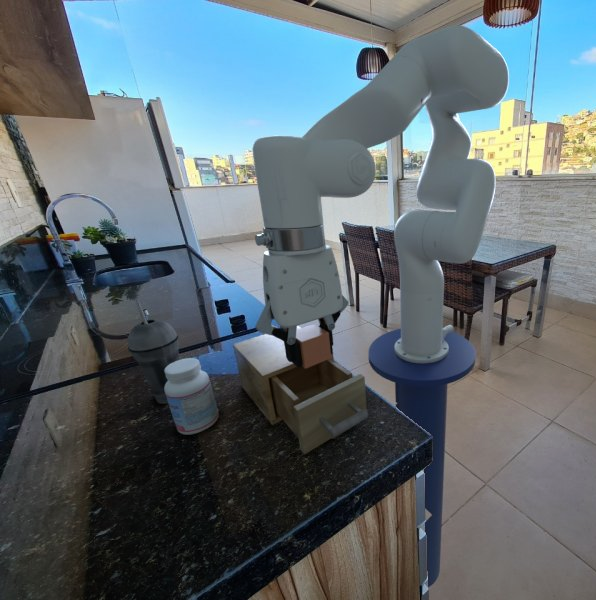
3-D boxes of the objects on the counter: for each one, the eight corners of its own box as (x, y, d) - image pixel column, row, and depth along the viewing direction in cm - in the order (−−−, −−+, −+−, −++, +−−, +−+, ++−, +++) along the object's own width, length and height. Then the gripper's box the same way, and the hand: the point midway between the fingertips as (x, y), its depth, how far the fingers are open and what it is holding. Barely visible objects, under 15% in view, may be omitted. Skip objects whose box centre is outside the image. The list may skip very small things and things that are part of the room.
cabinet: (337, 392, 61) (332, 347, 57) (272, 425, 53) (262, 376, 49) (301, 363, 71) (295, 323, 67) (242, 387, 63) (232, 344, 59)
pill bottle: (176, 420, 54) (157, 363, 50) (216, 406, 58) (201, 351, 54) (179, 442, 50) (158, 381, 46) (222, 424, 53) (207, 366, 49)
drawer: (383, 429, 50) (381, 388, 47) (319, 472, 43) (312, 426, 40) (325, 382, 62) (320, 347, 60) (267, 409, 55) (259, 371, 52)
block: (317, 348, 52) (314, 323, 51) (331, 358, 49) (328, 332, 48) (291, 357, 49) (287, 332, 48) (305, 369, 46) (301, 342, 45)
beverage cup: (197, 381, 65) (171, 288, 58) (187, 403, 58) (157, 301, 51) (155, 388, 63) (123, 293, 56) (140, 412, 56) (101, 307, 49)
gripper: (240, 252, 35) (267, 391, 41) (363, 234, 46) (369, 347, 52) (220, 244, 40) (246, 368, 47) (334, 229, 51) (343, 332, 57)
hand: (311, 356), depth 49 cm, fingers closed on block, 4 cm apart
